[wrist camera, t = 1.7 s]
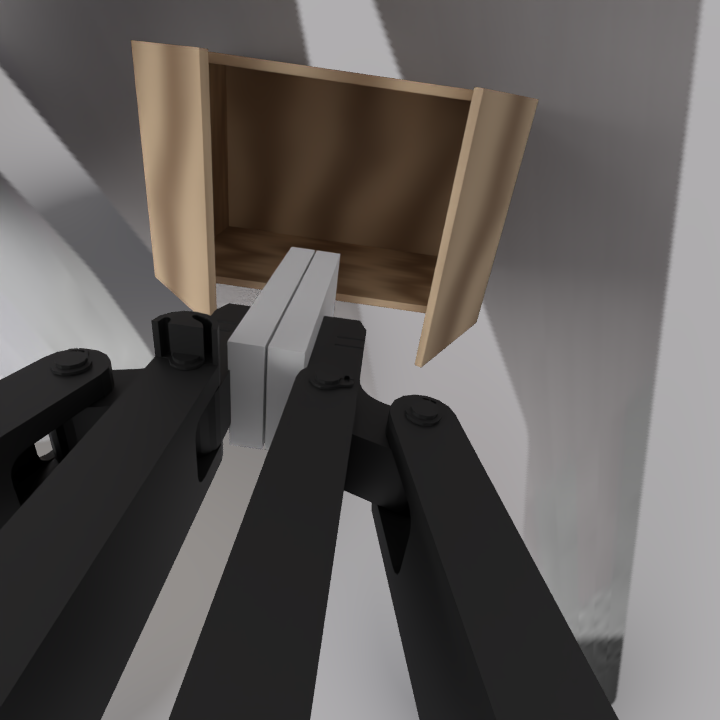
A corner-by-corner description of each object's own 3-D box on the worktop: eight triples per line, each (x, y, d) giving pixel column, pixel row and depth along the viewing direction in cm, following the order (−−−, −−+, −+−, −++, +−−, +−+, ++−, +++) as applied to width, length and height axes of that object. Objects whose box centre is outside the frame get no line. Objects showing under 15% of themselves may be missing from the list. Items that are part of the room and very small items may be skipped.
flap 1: (208, 49, 20) (198, 47, 19) (217, 324, 26) (210, 326, 26) (139, 41, 25) (130, 40, 24) (161, 275, 31) (155, 276, 31)
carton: (225, 229, 42) (167, 276, 31) (221, 56, 35) (147, 42, 25) (448, 261, 42) (464, 318, 31) (486, 94, 35) (523, 97, 25)
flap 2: (414, 364, 25) (421, 367, 25) (474, 87, 19) (483, 88, 18) (470, 320, 31) (476, 322, 31) (531, 98, 25) (538, 99, 24)
